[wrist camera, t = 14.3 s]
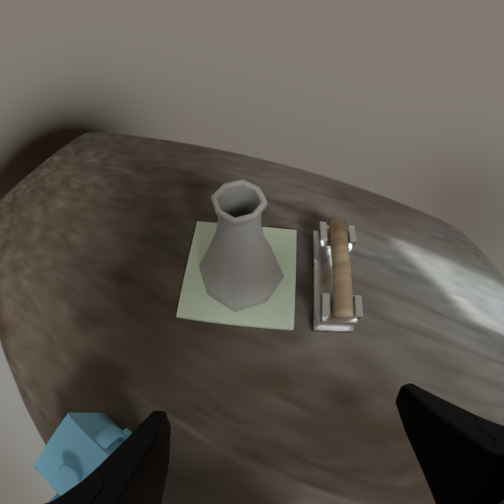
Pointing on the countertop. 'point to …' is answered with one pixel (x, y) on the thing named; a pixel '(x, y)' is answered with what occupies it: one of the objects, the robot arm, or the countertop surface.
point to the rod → (341, 270)
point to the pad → (260, 316)
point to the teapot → (78, 449)
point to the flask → (239, 249)
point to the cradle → (329, 284)
